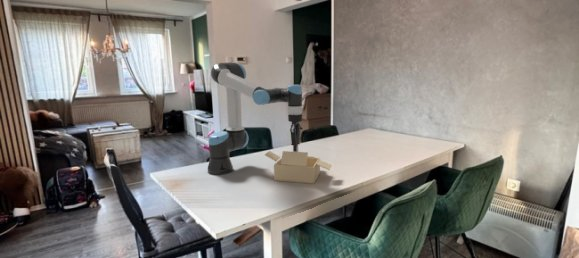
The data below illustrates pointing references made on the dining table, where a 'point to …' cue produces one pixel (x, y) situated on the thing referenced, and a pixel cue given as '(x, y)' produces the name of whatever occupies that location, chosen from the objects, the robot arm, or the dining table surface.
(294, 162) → the flap
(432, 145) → the dining table surface
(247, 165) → the dining table surface
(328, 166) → the flap
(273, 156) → the flap
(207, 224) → the dining table surface
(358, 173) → the dining table surface
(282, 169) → the carton
